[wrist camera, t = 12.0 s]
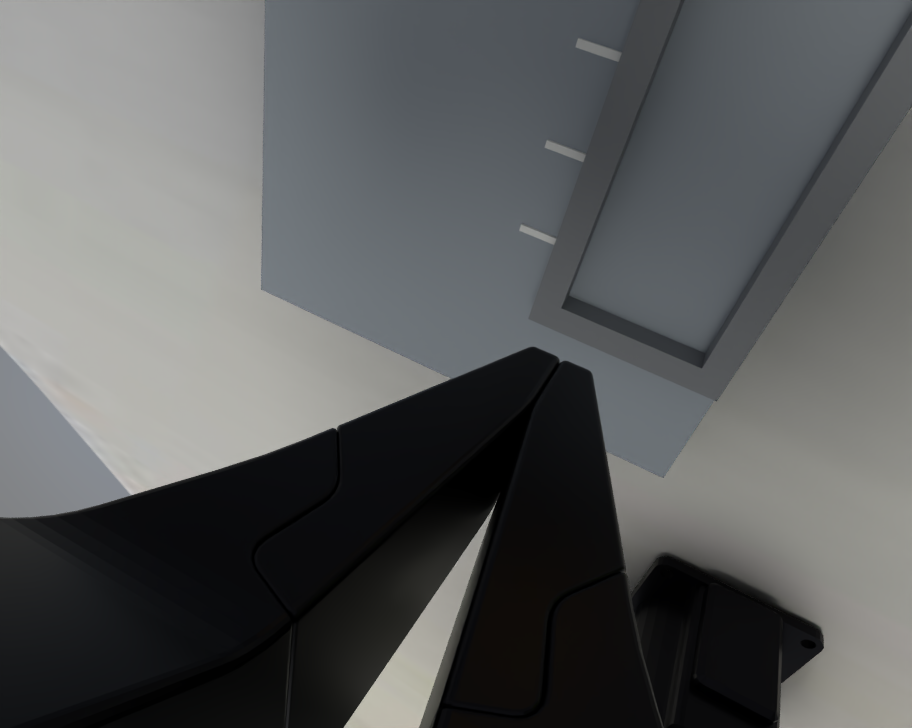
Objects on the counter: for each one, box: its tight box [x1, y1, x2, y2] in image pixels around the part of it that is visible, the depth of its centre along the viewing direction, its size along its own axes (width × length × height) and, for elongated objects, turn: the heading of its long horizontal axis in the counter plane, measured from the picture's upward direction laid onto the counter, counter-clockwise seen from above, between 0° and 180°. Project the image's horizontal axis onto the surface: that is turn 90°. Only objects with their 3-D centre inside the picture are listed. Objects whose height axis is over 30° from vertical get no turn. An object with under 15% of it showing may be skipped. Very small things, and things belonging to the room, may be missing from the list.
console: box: [261, 0, 912, 478], centre depth 14 cm, size 22×16×6 cm
